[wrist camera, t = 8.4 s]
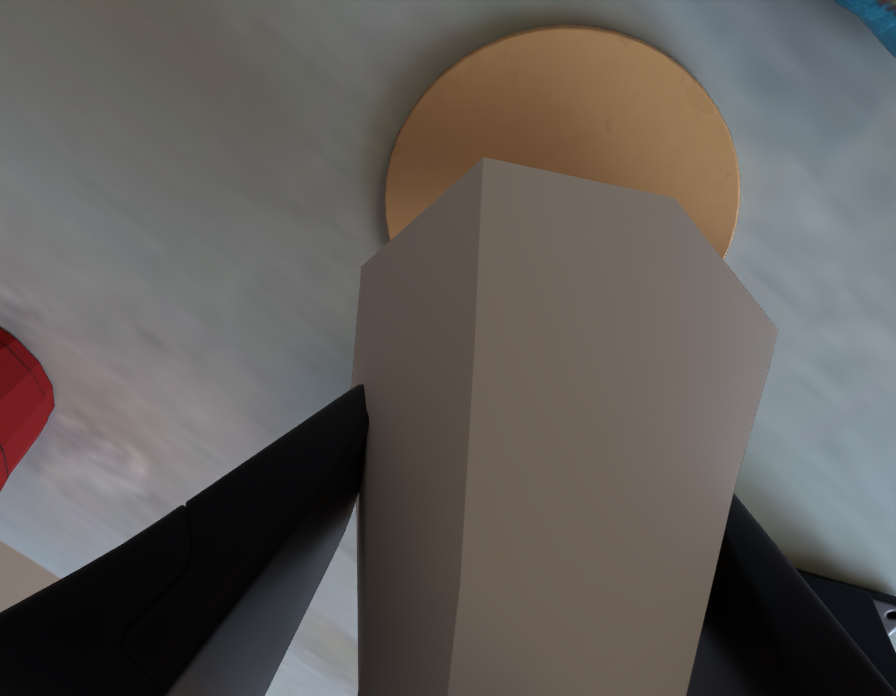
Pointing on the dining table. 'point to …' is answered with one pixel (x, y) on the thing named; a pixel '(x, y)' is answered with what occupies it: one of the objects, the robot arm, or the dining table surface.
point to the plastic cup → (20, 402)
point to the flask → (547, 439)
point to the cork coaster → (571, 124)
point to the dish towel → (876, 18)
